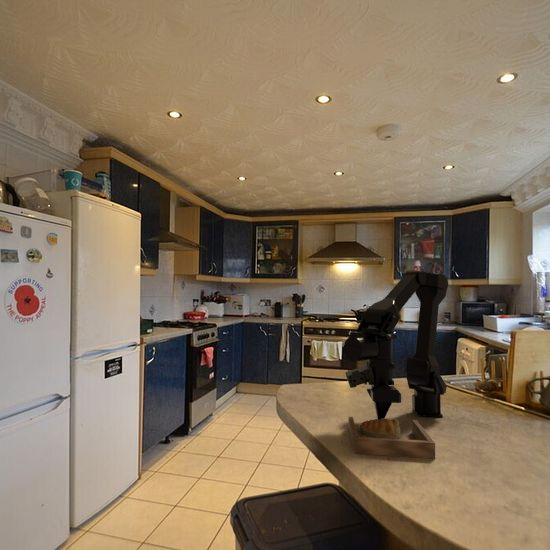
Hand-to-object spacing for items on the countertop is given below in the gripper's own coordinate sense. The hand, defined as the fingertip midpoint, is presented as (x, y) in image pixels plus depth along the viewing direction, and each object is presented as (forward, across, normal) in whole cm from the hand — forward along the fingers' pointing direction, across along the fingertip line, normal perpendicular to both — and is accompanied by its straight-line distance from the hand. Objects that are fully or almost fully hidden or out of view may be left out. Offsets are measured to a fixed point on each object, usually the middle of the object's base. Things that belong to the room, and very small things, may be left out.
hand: (380, 421), depth 88 cm
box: (+2, +8, 0) cm, 9 cm away
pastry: (+2, +4, 0) cm, 4 cm away
